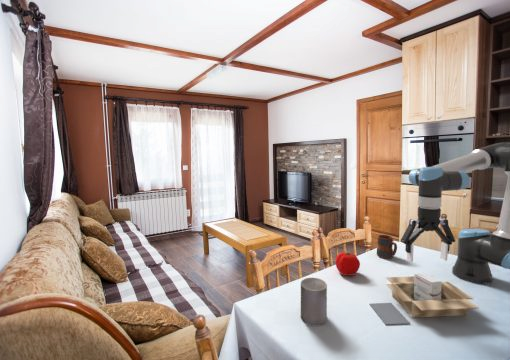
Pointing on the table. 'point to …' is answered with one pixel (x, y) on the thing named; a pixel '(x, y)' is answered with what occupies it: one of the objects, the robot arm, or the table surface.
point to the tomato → (347, 263)
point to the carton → (450, 306)
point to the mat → (389, 314)
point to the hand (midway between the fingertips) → (426, 259)
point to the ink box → (426, 287)
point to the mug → (386, 247)
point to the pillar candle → (313, 301)
